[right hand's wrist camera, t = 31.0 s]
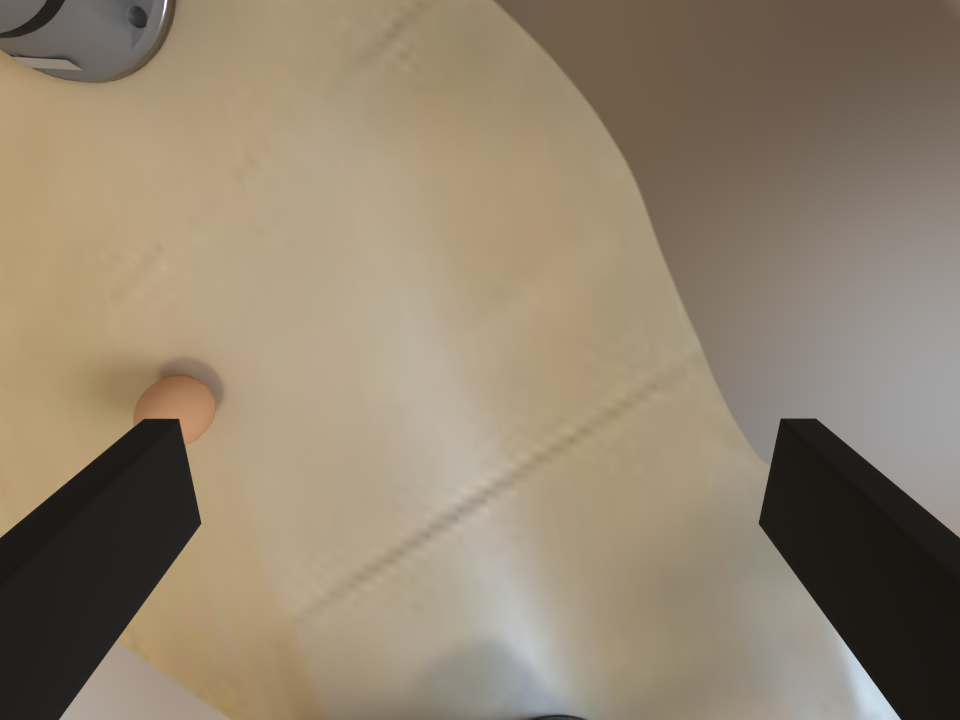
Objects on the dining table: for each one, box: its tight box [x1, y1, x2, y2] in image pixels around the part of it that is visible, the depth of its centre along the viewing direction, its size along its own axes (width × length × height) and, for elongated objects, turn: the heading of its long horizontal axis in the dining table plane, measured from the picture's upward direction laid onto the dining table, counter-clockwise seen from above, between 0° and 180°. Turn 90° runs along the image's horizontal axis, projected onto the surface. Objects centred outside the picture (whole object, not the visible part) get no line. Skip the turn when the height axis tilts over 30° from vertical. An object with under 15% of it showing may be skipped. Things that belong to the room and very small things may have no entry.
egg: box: [134, 376, 216, 445], centre depth 50 cm, size 6×6×8 cm
